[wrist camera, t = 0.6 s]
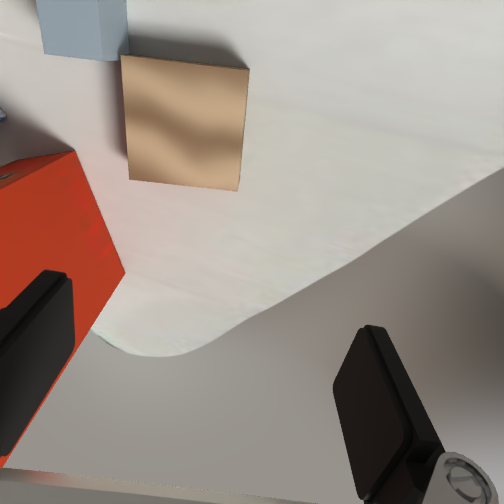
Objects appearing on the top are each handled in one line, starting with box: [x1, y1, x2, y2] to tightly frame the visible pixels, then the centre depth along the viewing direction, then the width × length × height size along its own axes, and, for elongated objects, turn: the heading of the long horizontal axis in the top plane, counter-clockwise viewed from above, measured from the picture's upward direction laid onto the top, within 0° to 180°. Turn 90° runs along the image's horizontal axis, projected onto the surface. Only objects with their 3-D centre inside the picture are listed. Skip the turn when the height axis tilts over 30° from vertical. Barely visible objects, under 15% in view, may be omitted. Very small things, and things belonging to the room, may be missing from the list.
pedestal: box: [121, 55, 250, 191], centre depth 37 cm, size 12×12×4 cm
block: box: [36, 0, 129, 61], centre depth 32 cm, size 5×5×7 cm
